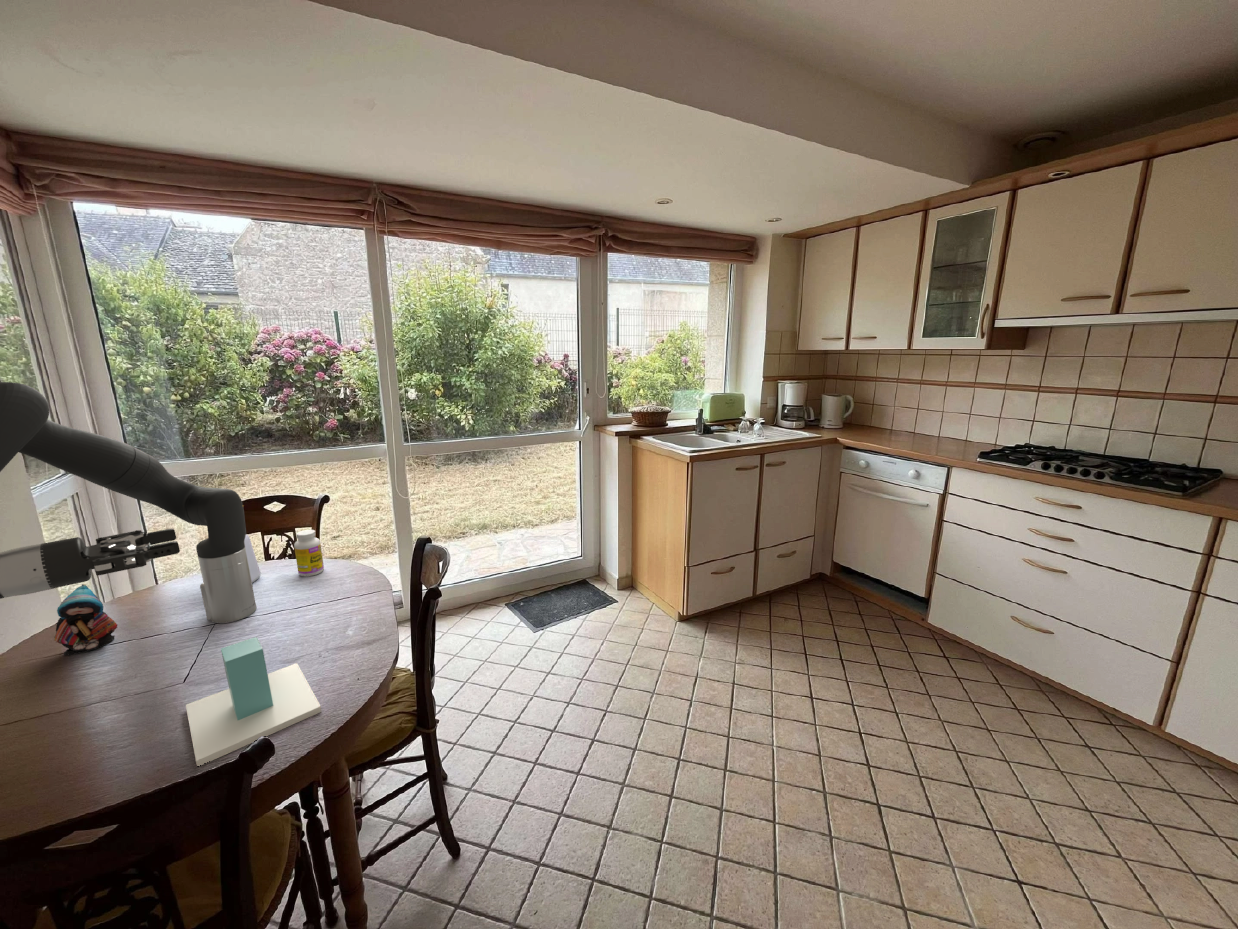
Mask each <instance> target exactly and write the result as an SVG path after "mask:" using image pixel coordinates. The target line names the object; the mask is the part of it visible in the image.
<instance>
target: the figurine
mask: <svg viewBox="0 0 1238 929" xmlns="http://www.w3.org/2000/svg"><path fill="white" fill-rule="evenodd" d="M56 613H57V615H58V617H59V618H58V620H57V622H56V624H55V634H54V640H53V641H55V643H58V644H59V645H60V644H61V645H62V646H63V647H65V648H66V650H65V651H64V653H63V655H64V656H73V655H76V654H80V653H85V652H90V651H94V650H96V649H100V648H102V647H103V646H106V645H108V644H110V643H112V642H113V641H115V635H112V634H113V633H114V632H115V631H116V629H118V624H117V622H115V620H114V619H113V618H112V617H110V616H109V615H108V614H107V613H106V612H105V611H104V604H103V602H102V600H100V599H99V598H98V596H97V595H96V594H95V593H94V592H93V591H92V589H91V588H89V587H88V586H87V584H86V583H83V584H81V585H80V586H78V587H76V588H75V589H74V590H73V591H72V592H71V593H70V594H69V595H67V596H66V597H65V598H64V599H63V601H61V603H60V604H59V606H57V608H56Z"/></svg>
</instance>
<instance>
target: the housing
mask: <svg viewBox="0 0 1238 929" xmlns="http://www.w3.org/2000/svg"><path fill="white" fill-rule="evenodd" d="M220 651H221V655H222V656H221V657H222V661H223V666H224V670H225V674H226V680H227V686H228V689H229V690H230V695H231V700H232V704H233V708H234V711H235V714H236V717H237V720H240V719H243V718H245V717H247V716H250V715H252V714H255V713H257V712H259V711H262V710H264V709H267V708H269V707H271V706H273V701H272V695H271V690H270V685H269V679H268V674H269V673H268V669H267V665H266V658H265V653H264V648H263V647H262V644H261V642H260V641H259V638H258V636H255V637H251V638H248V639H246V640H242V641H239V642H237V643H234V644H230V645H228V646H225V647H222V648H220Z"/></svg>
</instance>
